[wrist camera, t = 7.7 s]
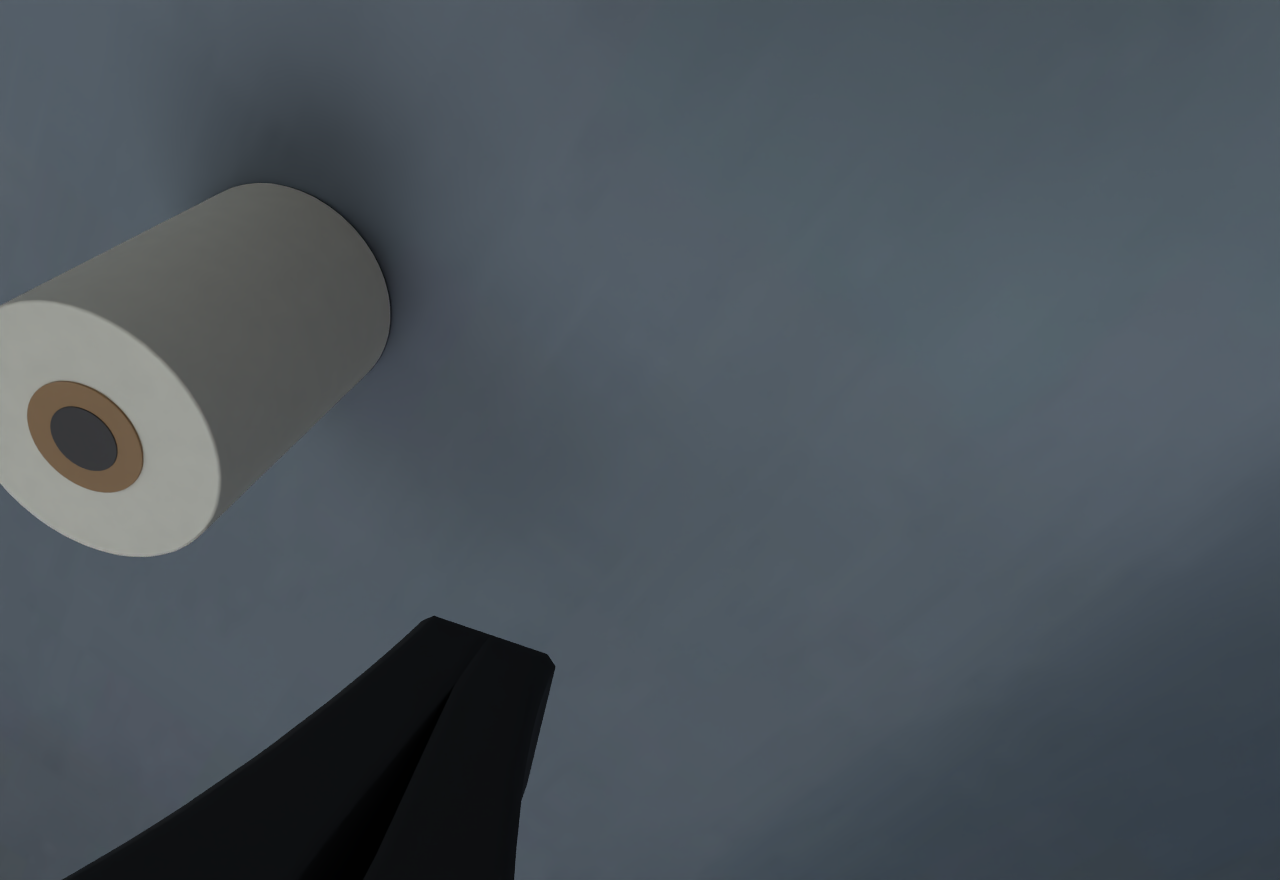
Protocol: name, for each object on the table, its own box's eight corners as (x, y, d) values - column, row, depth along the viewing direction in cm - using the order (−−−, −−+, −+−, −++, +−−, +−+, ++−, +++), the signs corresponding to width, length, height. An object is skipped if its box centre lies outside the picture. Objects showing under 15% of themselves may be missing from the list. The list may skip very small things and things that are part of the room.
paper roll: (60, 246, 14) (-102, 385, 16) (275, 496, 16) (101, 597, 18) (287, 137, 19) (144, 253, 21) (434, 332, 21) (287, 424, 23)
